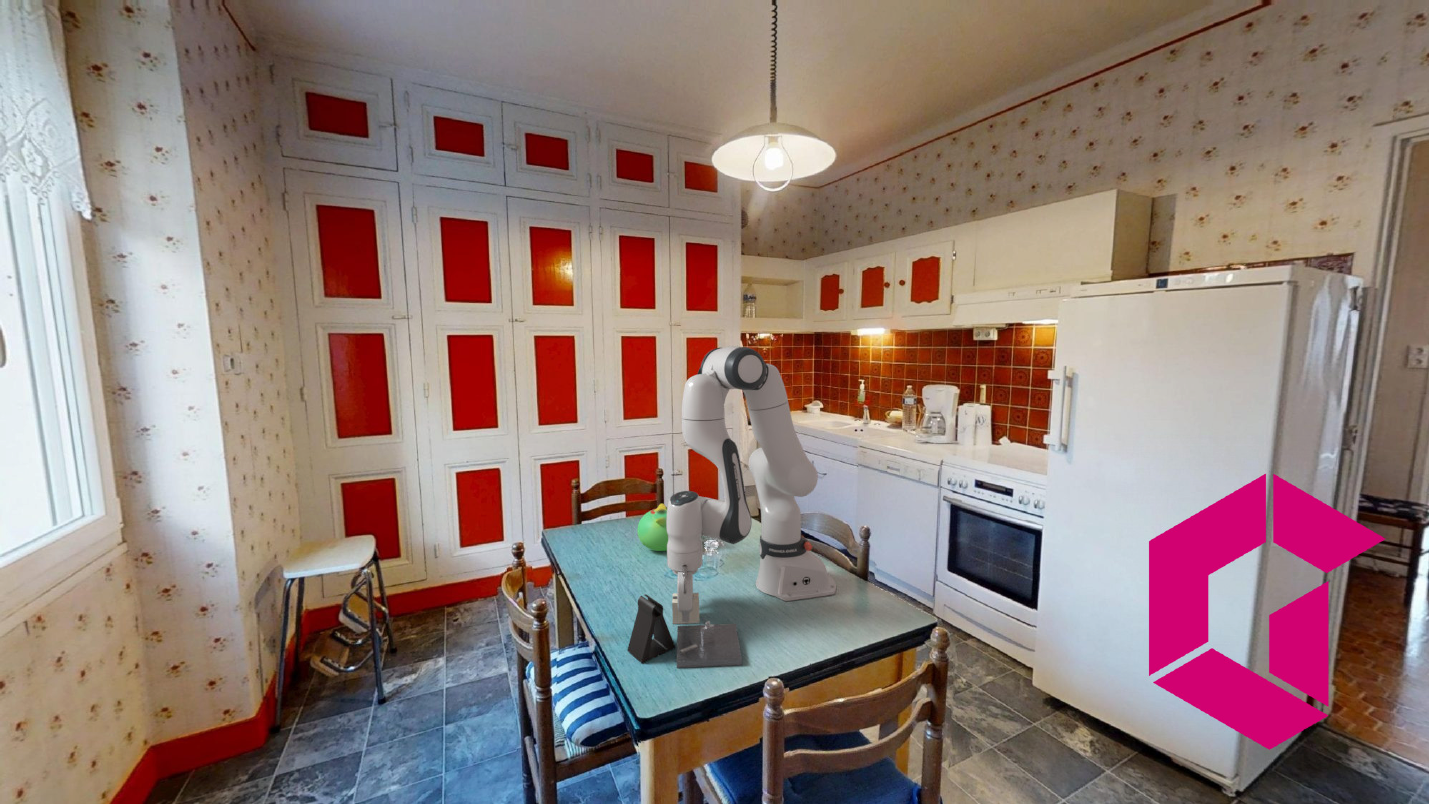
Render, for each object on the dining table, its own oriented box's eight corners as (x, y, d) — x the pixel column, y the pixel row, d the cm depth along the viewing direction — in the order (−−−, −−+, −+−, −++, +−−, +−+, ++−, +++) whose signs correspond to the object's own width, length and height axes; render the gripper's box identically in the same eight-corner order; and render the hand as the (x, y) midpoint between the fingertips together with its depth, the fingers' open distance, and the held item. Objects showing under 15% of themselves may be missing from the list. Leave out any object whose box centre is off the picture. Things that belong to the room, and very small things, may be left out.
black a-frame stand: (660, 636, 122) (659, 588, 121) (675, 648, 118) (674, 598, 116) (627, 651, 117) (625, 601, 115) (641, 664, 112) (639, 611, 111)
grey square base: (735, 629, 125) (735, 605, 124) (741, 665, 111) (741, 638, 111) (677, 631, 124) (677, 607, 124) (676, 668, 111) (676, 640, 110)
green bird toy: (675, 535, 187) (674, 495, 185) (701, 550, 173) (700, 507, 171) (630, 547, 176) (628, 505, 175) (654, 564, 163) (652, 519, 161)
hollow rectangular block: (698, 612, 133) (698, 591, 132) (699, 622, 128) (699, 600, 128) (673, 613, 133) (672, 592, 132) (672, 623, 128) (672, 601, 127)
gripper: (698, 575, 119) (699, 632, 120) (696, 541, 139) (697, 590, 140) (670, 576, 118) (672, 633, 120) (673, 542, 139) (674, 591, 140)
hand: (685, 610), depth 130 cm, fingers open, 8 cm apart
